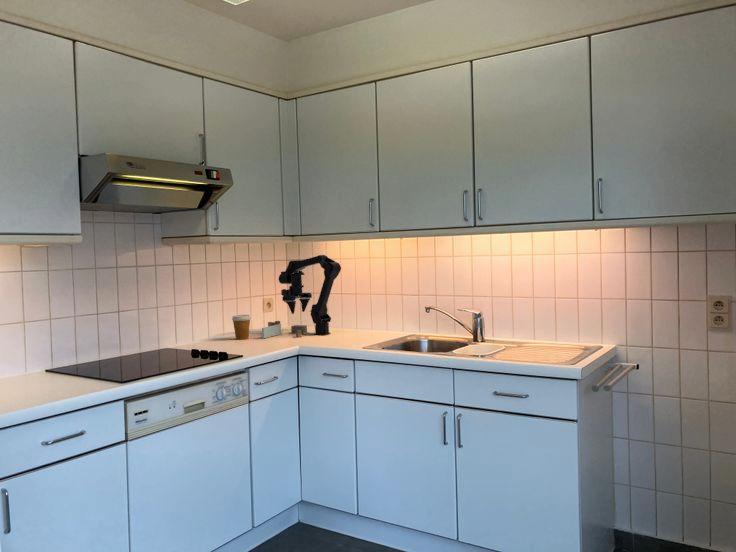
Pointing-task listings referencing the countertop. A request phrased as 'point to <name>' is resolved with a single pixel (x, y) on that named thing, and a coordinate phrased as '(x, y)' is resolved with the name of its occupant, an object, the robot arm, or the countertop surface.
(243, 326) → the disposable coffee cup
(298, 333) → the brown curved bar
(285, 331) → the countertop surface
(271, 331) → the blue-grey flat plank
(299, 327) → the grey rectangular block
